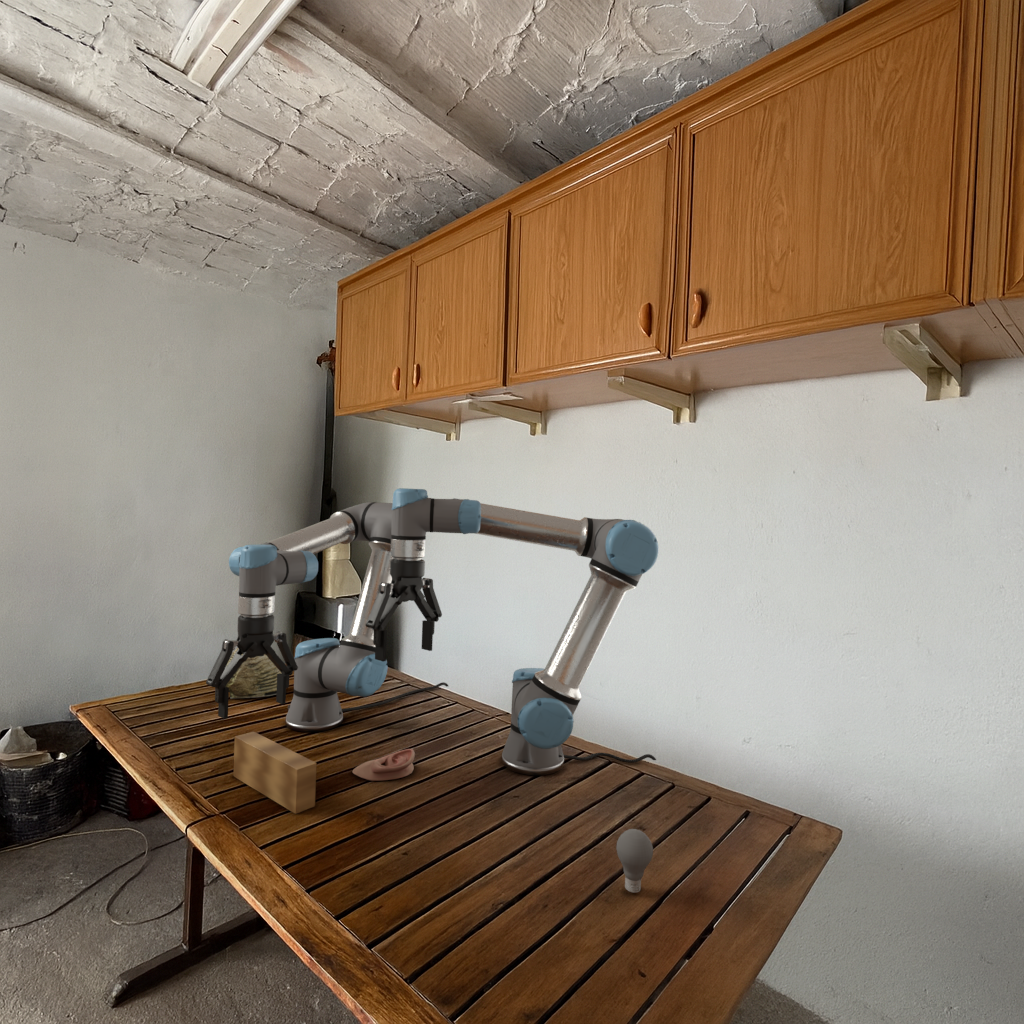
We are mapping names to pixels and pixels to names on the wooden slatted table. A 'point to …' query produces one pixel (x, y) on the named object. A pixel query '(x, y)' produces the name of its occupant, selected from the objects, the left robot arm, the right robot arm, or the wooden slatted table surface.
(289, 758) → the bar
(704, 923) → the wooden slatted table surface
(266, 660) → the fossil
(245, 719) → the wooden slatted table surface
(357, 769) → the anatomical model
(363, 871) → the wooden slatted table surface
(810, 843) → the wooden slatted table surface
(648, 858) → the light bulb
